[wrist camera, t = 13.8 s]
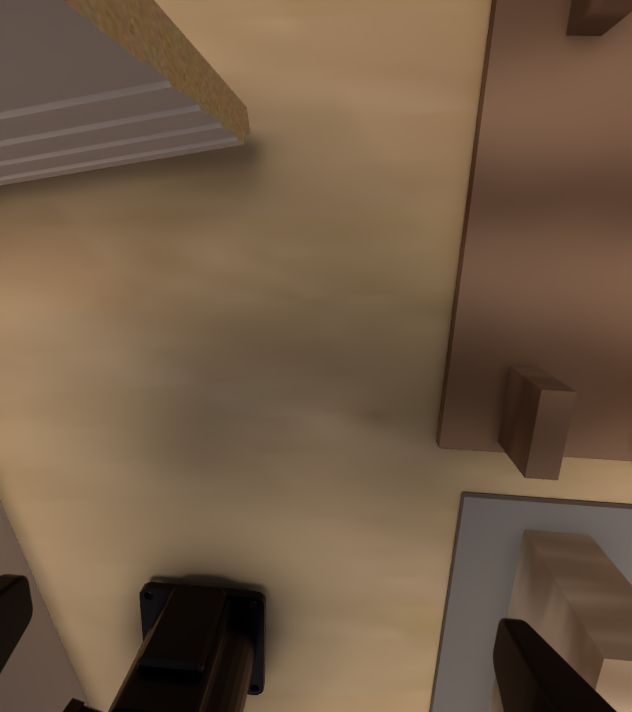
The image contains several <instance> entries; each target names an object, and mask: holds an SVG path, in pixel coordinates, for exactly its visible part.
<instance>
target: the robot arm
mask: <svg viewBox="0 0 632 712" xmlns="http://www.w3.org/2000/svg"><path fill="white" fill-rule="evenodd" d="M149 592H150V593H149ZM151 593H152V594H151ZM254 601H255V602H258V603H254ZM140 607H141V620H142V632H143V643H142V645H141V647H140V649H139V651H138V653H137V655H136V657H135V659H134V661H133V663H132V665H131V667H130V669H129V671H128V673H127V675H126V677H125V679H124V681H123V683H122V685H121V687H120V689H119V691H118V693H117V695H116V697H115V699H114V701H113V703H112V705H111V707H110V709H109V711H108V712H243V711H244V707H245V702H246V697H247V694H249V695H259V694H261V693H262V692H263V689H264V683H265V632H266V598H265V596H264V595H263V594H262V593H261V592H257V591H248V590H236V589H225V588H213V587H202V586H191V585H179V584H168V583H156V582H148V583H146V584H145V585H144V586H143V588H142V590H141V591H140ZM32 614H33V604H32V598H31V592H30V585H29V580H28V578H27V577H26V576H24V575H16V574H3V575H1V576H0V674H1V672H2V670H3V668H4V667H5V665H6V663H7V661H8V660H9V658H10V656H11V654H12V653H13V651H14V649H15V648H16V646H17V644H18V642H19V641H20V639H21V637H22V635H23V634H24V632H25V630H26V628H27V627H28V625H29V623H30V621H31V618H32ZM493 666H494V671H495V675H496V680H497V684H498V688H499V693H500V697H501V702H502V706H503V711H504V712H617V711H616V710H615V709H614V708H613V707H612V706H611V705H610V704H609V703H608V702H607V701H606V700H605V699H604V698H603V697H602V696H601V695H600V694H599V693H598V692H597V691H596V690H595V689H594V688H593V687H592V686H591V685H590V684H589V683H588V682H587V681H586V680H585V679H584V678H583V677H582V676H581V675H580V674H579V673H578V672H576V671H575V670H574V669H573V668H572V667H571V666H570V665H569V664H568V663H567V662H566V661H565V660H564V659H563V658H562V657H561V656H560V655H559V654H558V653H557V652H556V651H555V650H554V649H553V648H552V647H551V646H550V645H549V644H548V643H547V642H546V641H545V640H544V639H543V638H542V637H541V636H540V635H539V634H538V633H537V632H536V631H535V630H534V629H533V628H532V627H531V626H530V625H529V624H528V623H527V622H525V621H524V620H521V619H512V618H502V619H500V621H499V623H498V628H497V633H496V638H495V643H494V649H493ZM84 704H85V702H83V701H81V700H78V699H75V698H72V699H71V700H70V702H69V703H68V705H67V706H66V708H65V709H64V710H63V712H102V711H99V710H96V709H94V708H91V707H88V706H86V705H84Z"/></svg>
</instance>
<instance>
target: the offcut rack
mask: <svg viewBox="0 0 632 712" xmlns="http://www.w3.org/2000/svg"><path fill="white" fill-rule="evenodd" d="M436 442H437V444H438V447H439V448H445V449H460V450H475V451H489V452H504V453H506V454H507V455H508V456H509V457H510V459H511V460H512V461H513V463H514V464H515V465H516V467H517V468H518V469H519V471H520V472H521V473H522V475H523V476H524V477H525V478H534V479H548V480H558V476H559V472H560V467H561V462H562V458H563V457H577V458H592V459H607V460H621V461H632V0H492V7H491V14H490V22H489V30H488V38H487V46H486V54H485V62H484V70H483V78H482V86H481V94H480V101H479V109H478V117H477V125H476V133H475V141H474V149H473V157H472V165H471V173H470V180H469V188H468V196H467V204H466V212H465V220H464V228H463V236H462V244H461V252H460V260H459V267H458V275H457V283H456V291H455V299H454V307H453V315H452V323H451V331H450V339H449V346H448V354H447V362H446V370H445V378H444V386H443V394H442V402H441V410H440V418H439V425H438V433H437V441H436Z"/></svg>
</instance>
